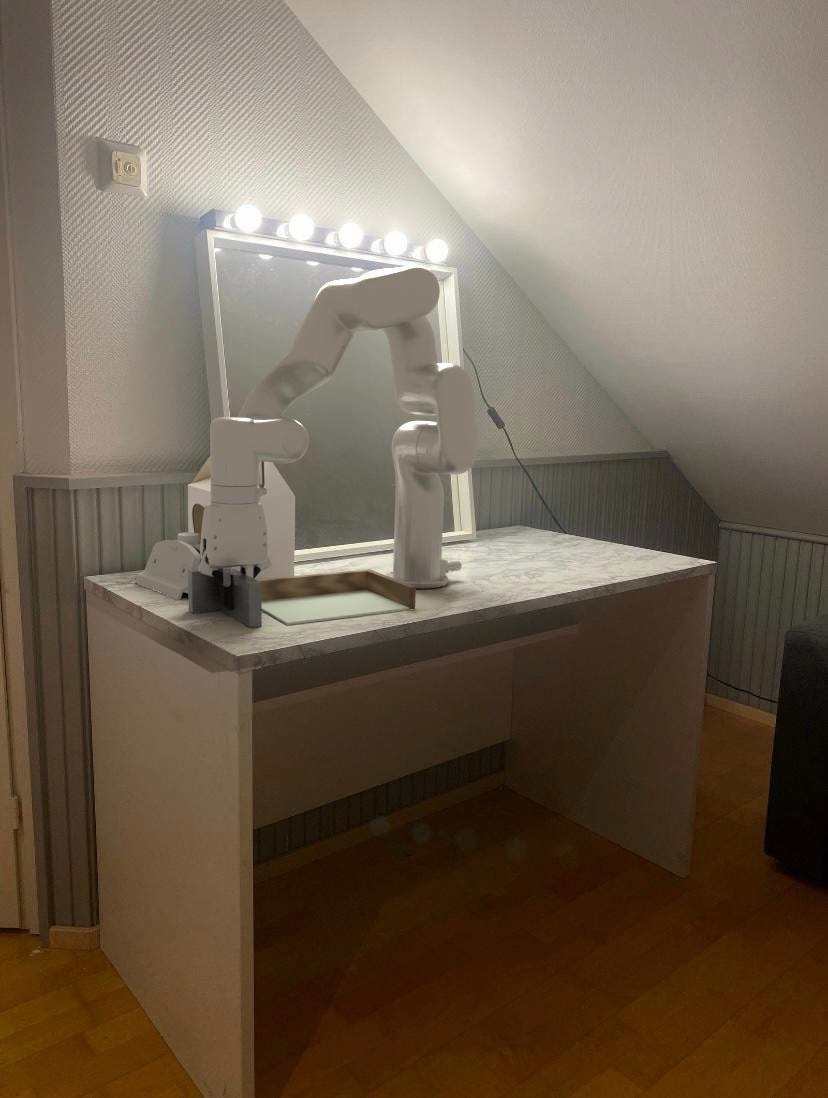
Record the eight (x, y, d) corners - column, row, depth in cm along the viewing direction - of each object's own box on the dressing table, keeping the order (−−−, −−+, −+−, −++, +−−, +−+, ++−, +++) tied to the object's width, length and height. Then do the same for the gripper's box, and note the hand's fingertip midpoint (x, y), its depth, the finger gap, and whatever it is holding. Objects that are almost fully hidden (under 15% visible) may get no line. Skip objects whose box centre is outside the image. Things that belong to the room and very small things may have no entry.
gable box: (187, 570, 170) (186, 431, 165) (248, 564, 178) (249, 431, 173) (229, 592, 152) (228, 437, 147) (295, 586, 159) (296, 438, 155)
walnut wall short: (372, 591, 157) (372, 570, 156) (415, 609, 145) (415, 586, 144) (366, 592, 156) (367, 571, 156) (409, 610, 144) (410, 587, 144)
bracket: (229, 606, 142) (228, 565, 141) (261, 626, 131) (261, 582, 129) (188, 610, 138) (187, 569, 137) (218, 632, 127) (217, 587, 126)
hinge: (133, 583, 157) (149, 531, 158) (155, 588, 160) (171, 538, 161) (178, 600, 145) (195, 544, 146) (201, 605, 149) (218, 551, 149)
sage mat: (366, 592, 156) (366, 589, 156) (409, 610, 144) (409, 607, 144) (251, 604, 144) (251, 602, 144) (287, 625, 132) (287, 622, 132)
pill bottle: (191, 575, 165) (190, 530, 164) (209, 579, 162) (208, 533, 161) (169, 579, 161) (168, 533, 159) (187, 583, 158) (186, 537, 157)
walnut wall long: (368, 590, 158) (369, 569, 157) (372, 591, 157) (372, 570, 156) (248, 602, 145) (248, 580, 144) (251, 604, 144) (251, 581, 143)
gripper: (271, 491, 141) (271, 597, 144) (178, 494, 132) (180, 607, 136) (290, 496, 135) (289, 607, 138) (194, 500, 126) (195, 618, 130)
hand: (235, 606), depth 137 cm, fingers closed on bracket
